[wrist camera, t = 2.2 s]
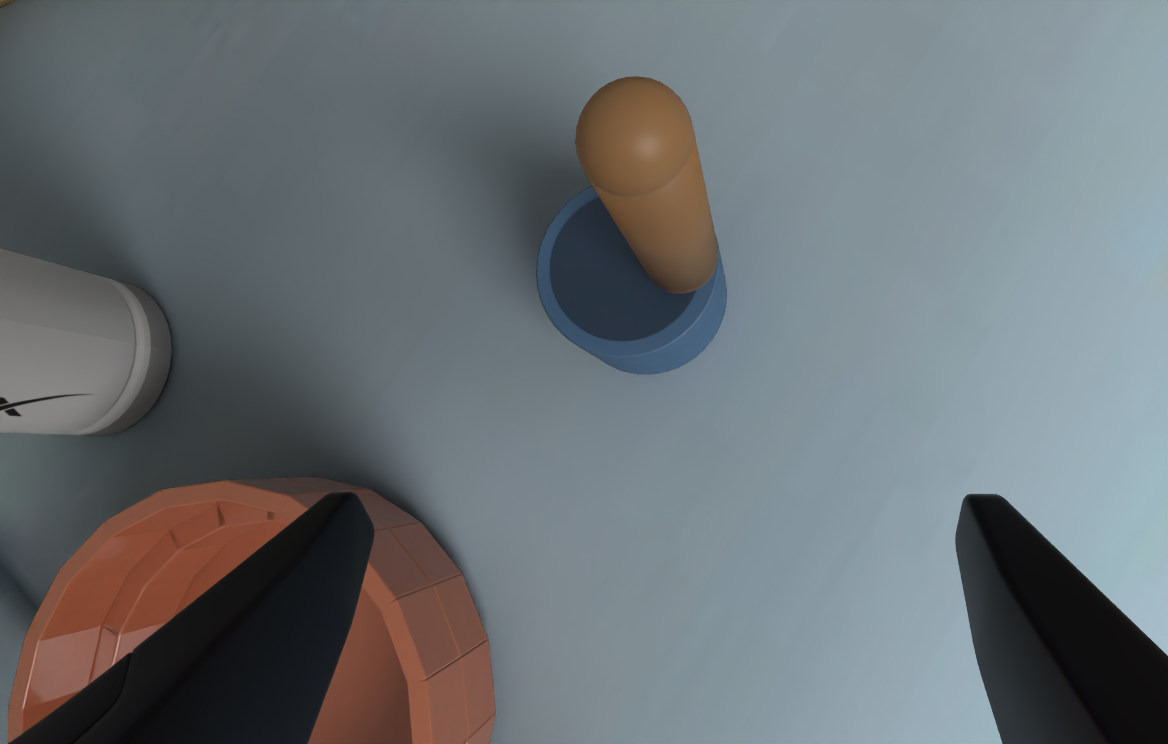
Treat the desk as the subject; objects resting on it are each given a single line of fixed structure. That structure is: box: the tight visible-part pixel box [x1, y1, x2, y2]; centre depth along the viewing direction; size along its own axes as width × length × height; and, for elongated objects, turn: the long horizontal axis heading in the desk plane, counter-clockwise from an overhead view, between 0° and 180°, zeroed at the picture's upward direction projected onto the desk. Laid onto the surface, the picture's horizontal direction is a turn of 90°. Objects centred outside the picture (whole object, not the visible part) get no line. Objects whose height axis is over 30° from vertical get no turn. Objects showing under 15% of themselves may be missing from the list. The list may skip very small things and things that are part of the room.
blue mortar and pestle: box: [536, 77, 727, 374], centre depth 17 cm, size 5×5×12 cm
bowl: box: [8, 477, 496, 744], centre depth 22 cm, size 14×14×5 cm
